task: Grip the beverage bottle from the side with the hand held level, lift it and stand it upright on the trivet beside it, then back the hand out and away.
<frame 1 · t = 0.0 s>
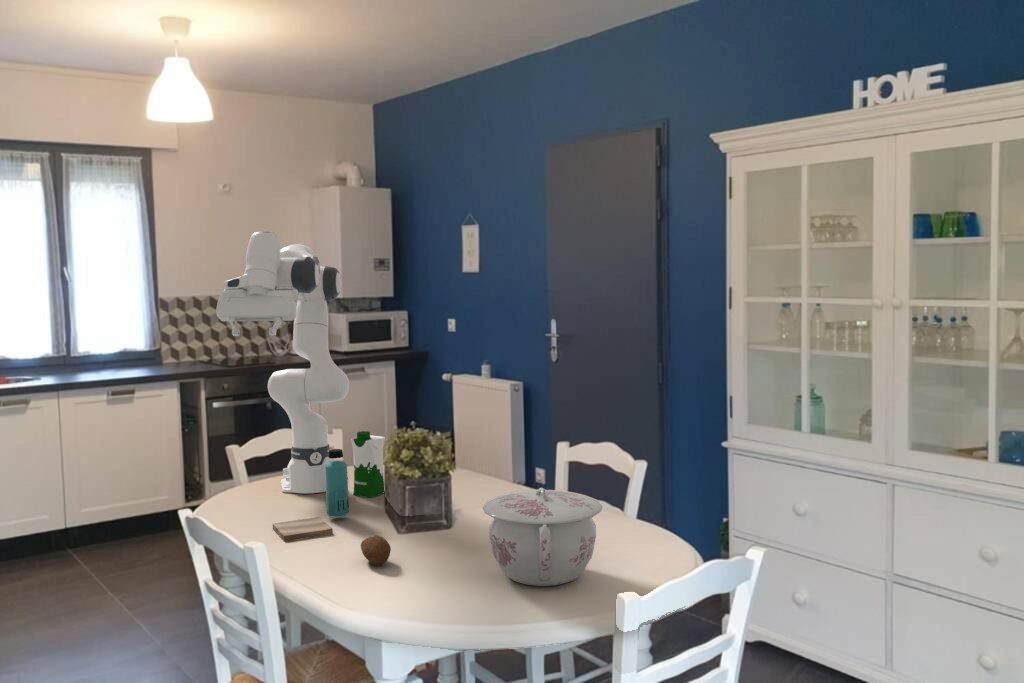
hand: (253, 335, 231), 54 cm above the table, tool tilted 30°, fingers open, 8 cm apart
potato: (377, 564, 218), on the table
beverage bottle: (337, 519, 257), on the table
milk carton: (369, 494, 284), on the table
chamber pot: (542, 577, 208), on the table
trivet: (302, 531, 245), on the table
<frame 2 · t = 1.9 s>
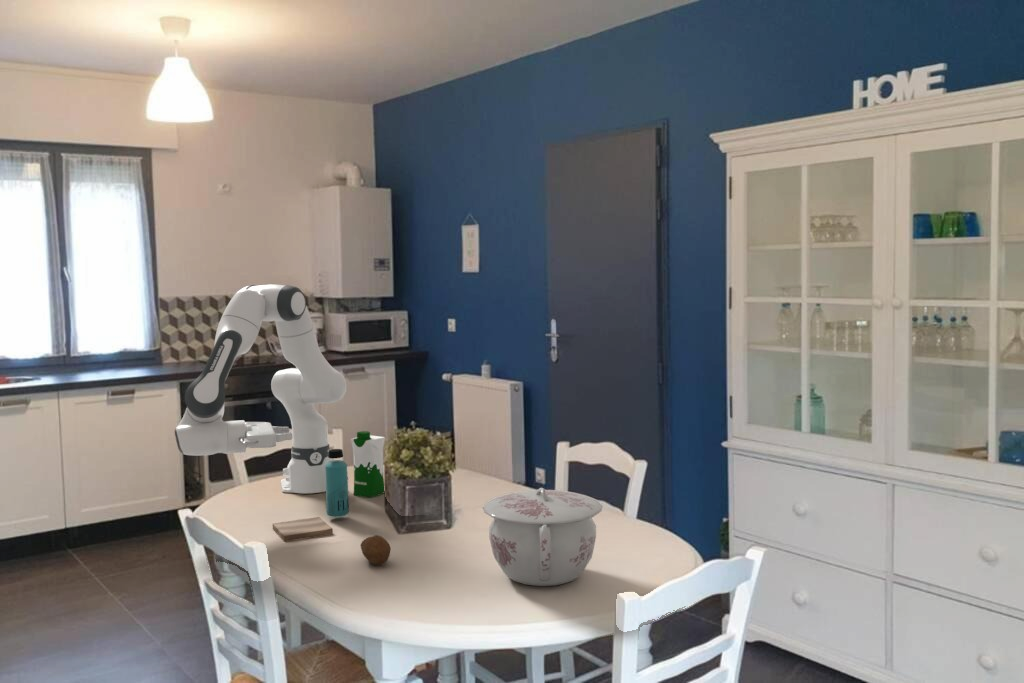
hand: (290, 433, 250), 26 cm above the table, tool horizontal, fingers open, 8 cm apart
nothing on the table moved.
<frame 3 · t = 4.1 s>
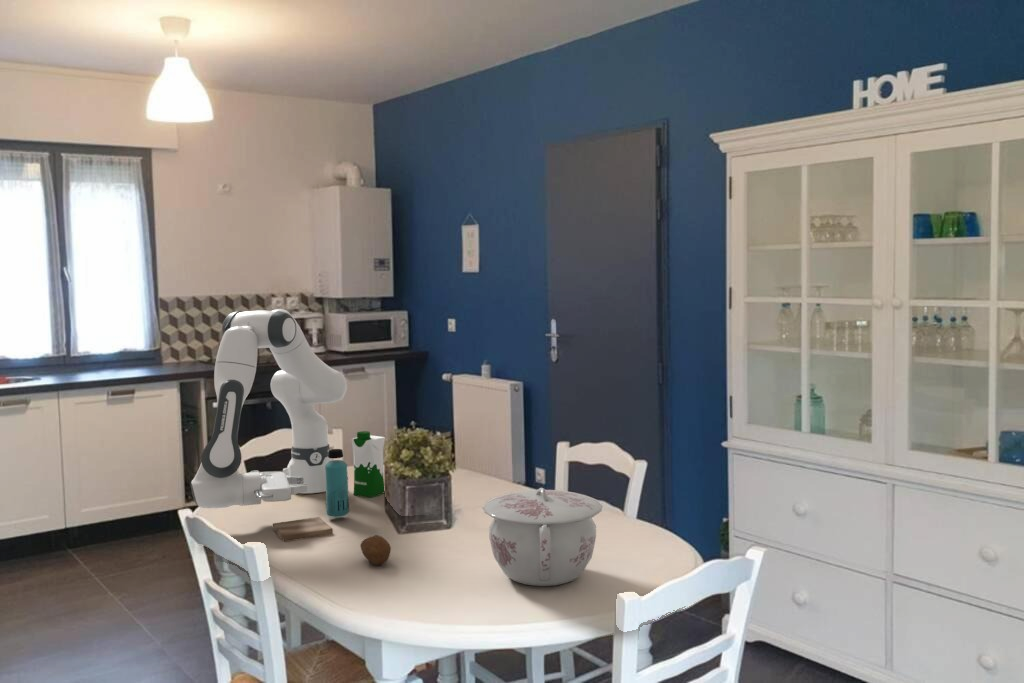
hand: (305, 483, 253), 11 cm above the table, tool horizontal, fingers open, 8 cm apart
nothing on the table moved.
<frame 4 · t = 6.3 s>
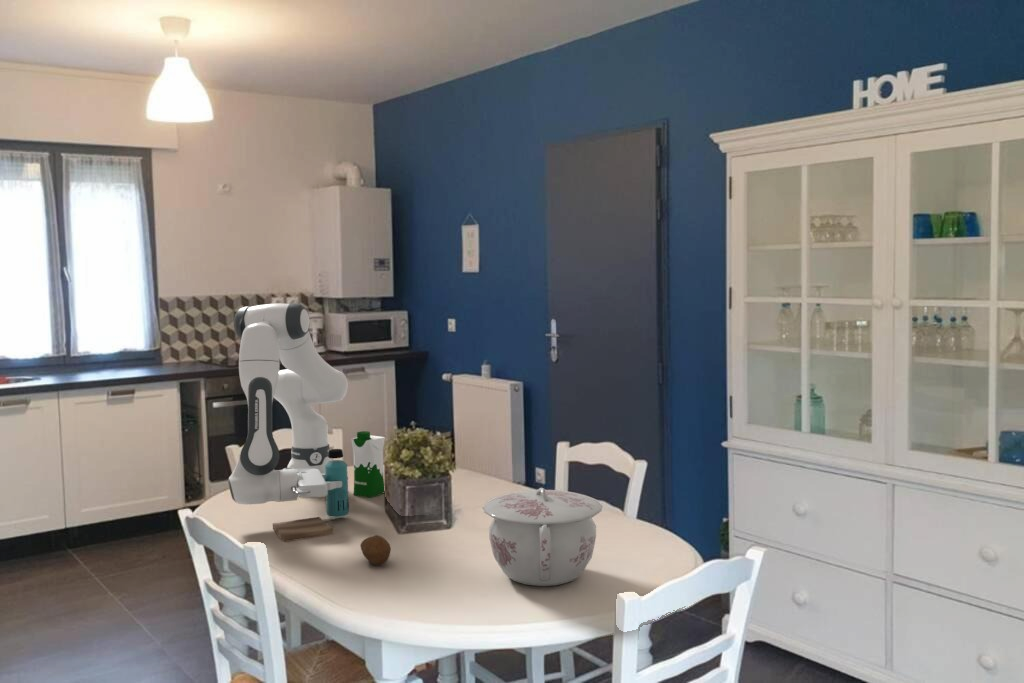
hand: (339, 480, 256), 11 cm above the table, tool horizontal, fingers closed on beverage bottle, 6 cm apart
beverage bottle: (337, 519, 257), on the table, touching gripper
everything else where it was.
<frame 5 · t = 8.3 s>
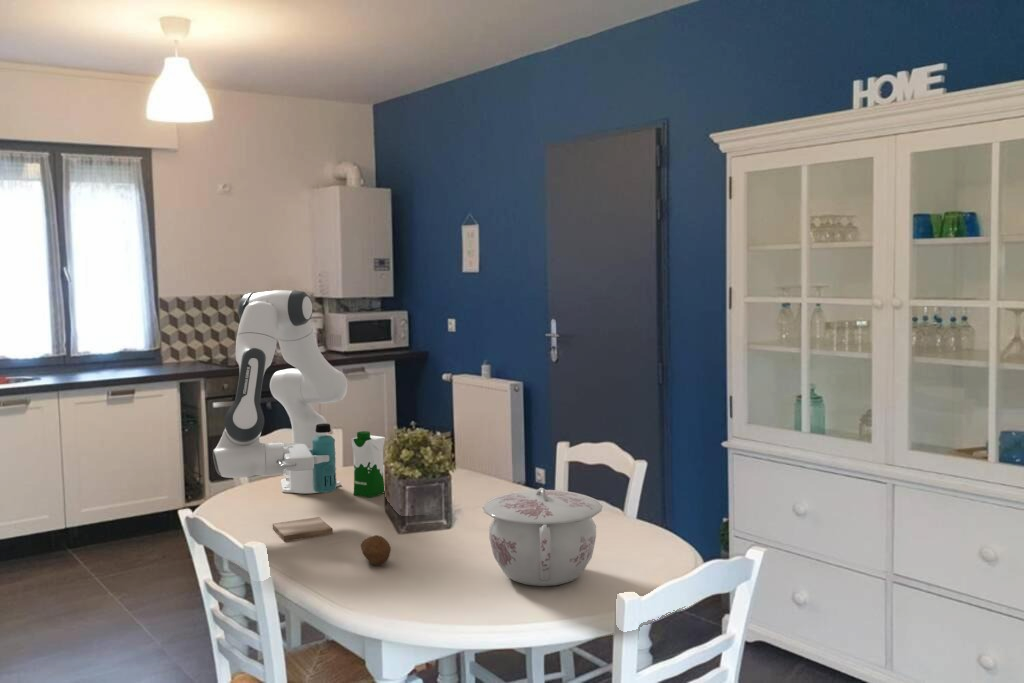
hand: (327, 455, 251), 19 cm above the table, tool horizontal, fingers closed on beverage bottle, 6 cm apart
beverage bottle: (324, 495, 252), point 8 cm above the table, touching gripper
everything else where it was.
when the fingers open (14 cm above the table, at t = 10.7 s): beverage bottle drops 1 cm, resting on trivet.
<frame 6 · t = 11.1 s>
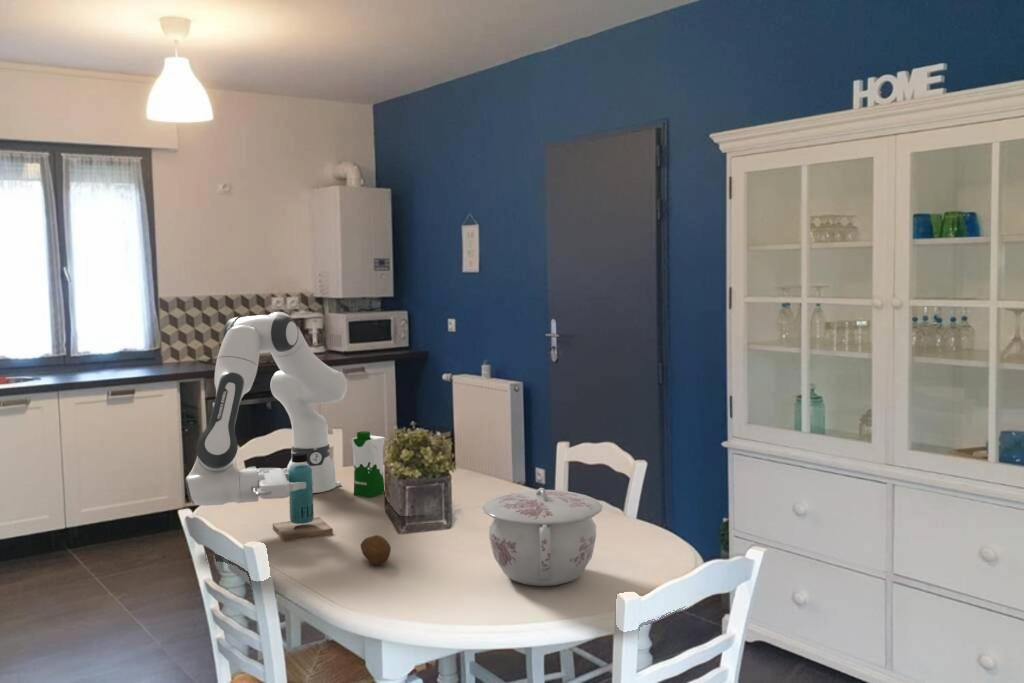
hand: (304, 480, 244), 14 cm above the table, tool horizontal, fingers open, 8 cm apart
beverage bottle: (302, 526, 245), point 1 cm above the table, touching trivet
everything else where it was.
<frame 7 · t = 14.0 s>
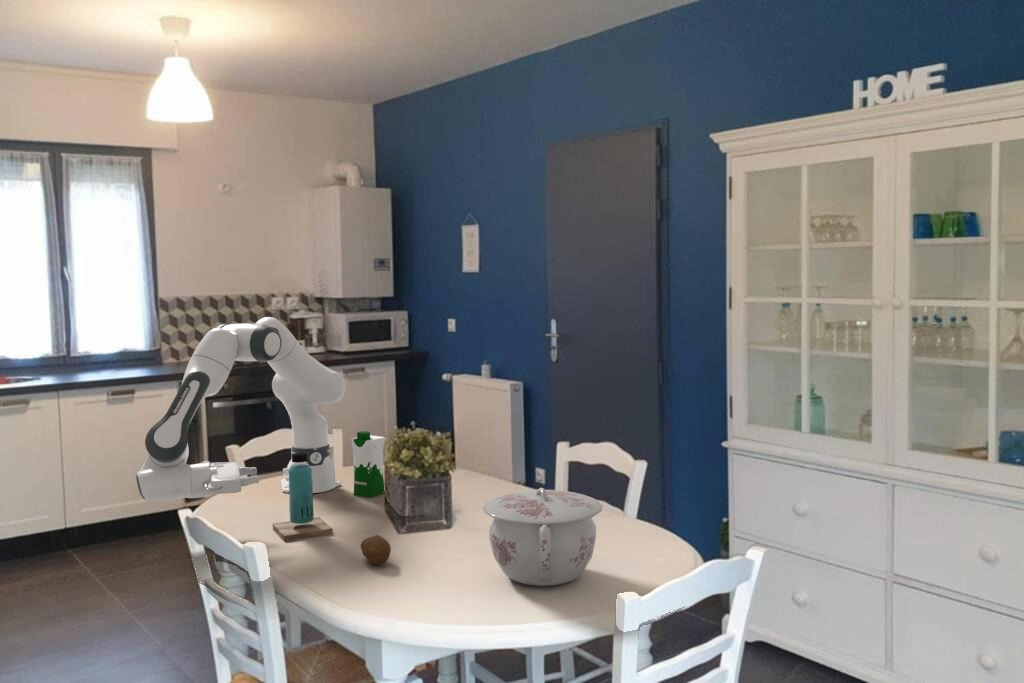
hand: (257, 474, 242), 16 cm above the table, tool horizontal, fingers open, 8 cm apart
nothing on the table moved.
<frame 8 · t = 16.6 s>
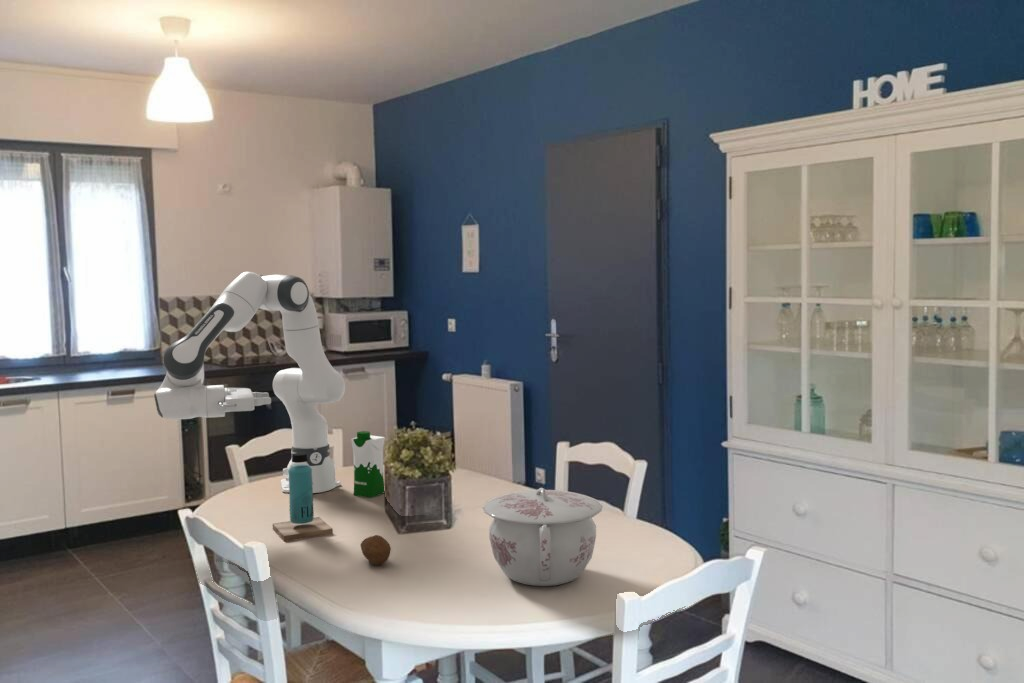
hand: (269, 398, 253), 35 cm above the table, tool horizontal, fingers open, 8 cm apart
nothing on the table moved.
at the end: beverage bottle inside the target area on the trivet (0.2 cm from its centre), point 1.3 cm above the trivet's base; beverage bottle tilted 0°; the gripper is holding nothing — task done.
